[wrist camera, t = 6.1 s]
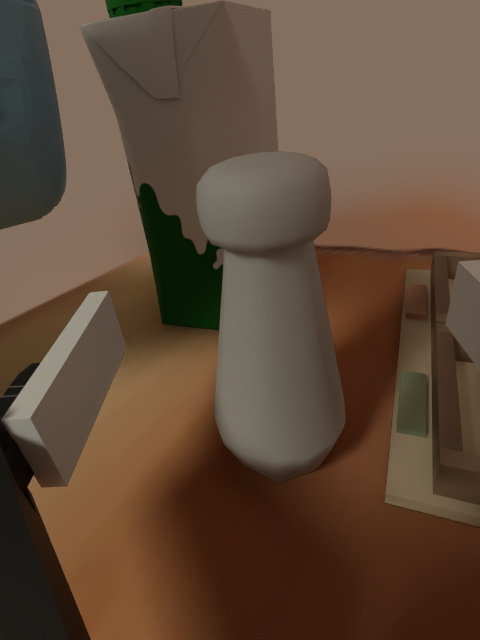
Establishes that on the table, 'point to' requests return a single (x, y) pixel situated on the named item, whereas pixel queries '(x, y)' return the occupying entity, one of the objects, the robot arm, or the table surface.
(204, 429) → the table surface
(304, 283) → the salt shaker
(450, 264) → the socket board
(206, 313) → the milk carton
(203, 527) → the table surface
